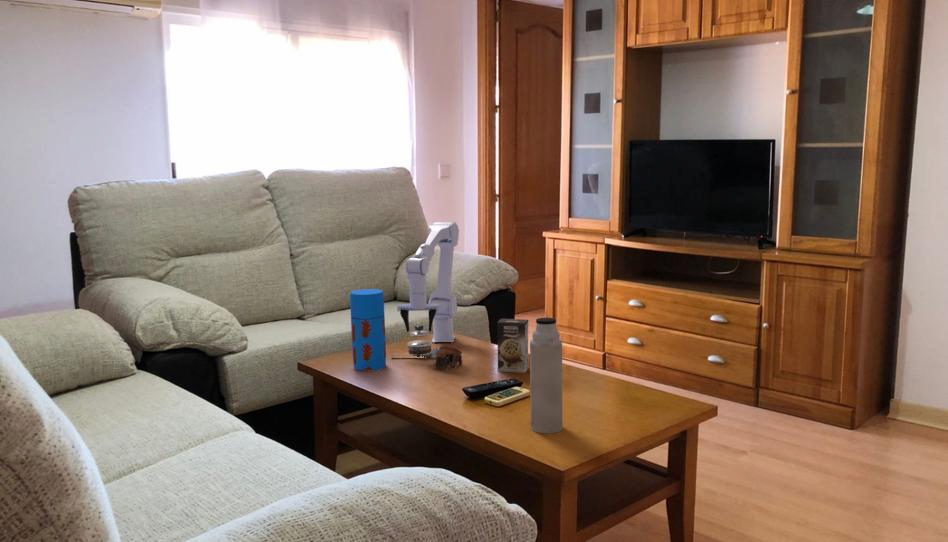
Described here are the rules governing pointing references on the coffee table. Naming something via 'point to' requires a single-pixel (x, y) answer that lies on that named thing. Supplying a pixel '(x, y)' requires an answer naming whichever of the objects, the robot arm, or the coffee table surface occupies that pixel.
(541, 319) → the thermos bottle
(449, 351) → the brown animal figurine
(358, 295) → the thermos
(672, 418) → the coffee table surface
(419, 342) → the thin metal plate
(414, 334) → the silver lid with knob
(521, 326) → the grey cardboard box
